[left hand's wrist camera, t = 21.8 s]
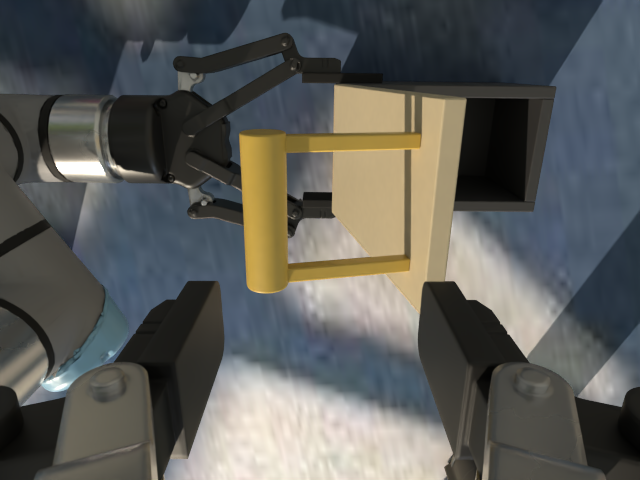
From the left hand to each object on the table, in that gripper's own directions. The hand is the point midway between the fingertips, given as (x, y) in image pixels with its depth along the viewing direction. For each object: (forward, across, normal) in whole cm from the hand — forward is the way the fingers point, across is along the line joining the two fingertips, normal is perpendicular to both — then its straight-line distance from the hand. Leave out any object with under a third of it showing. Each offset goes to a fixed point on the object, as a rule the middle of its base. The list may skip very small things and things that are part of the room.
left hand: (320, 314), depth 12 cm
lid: (+17, -4, 0) cm, 17 cm away
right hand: (+30, -5, 0) cm, 30 cm away
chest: (+36, -10, 0) cm, 37 cm away
